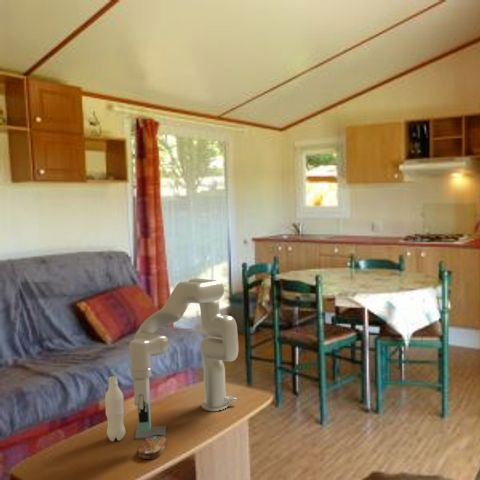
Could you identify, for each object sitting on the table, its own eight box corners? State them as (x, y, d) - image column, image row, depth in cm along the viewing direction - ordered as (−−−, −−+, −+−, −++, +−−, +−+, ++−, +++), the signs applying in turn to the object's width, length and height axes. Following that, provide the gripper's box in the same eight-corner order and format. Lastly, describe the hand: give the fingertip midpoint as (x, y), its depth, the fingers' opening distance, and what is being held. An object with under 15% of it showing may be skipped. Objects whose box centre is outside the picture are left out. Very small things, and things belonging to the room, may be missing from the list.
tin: (149, 433, 208) (169, 433, 206) (150, 441, 208) (170, 441, 206) (134, 452, 193) (156, 452, 191) (135, 460, 193) (157, 460, 191)
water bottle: (119, 432, 215) (116, 373, 213) (129, 438, 210) (125, 377, 208) (103, 438, 210) (100, 377, 208) (113, 444, 205) (109, 382, 203)
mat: (166, 427, 219) (166, 425, 219) (165, 437, 210) (165, 435, 210) (137, 429, 218) (137, 427, 218) (134, 439, 209) (134, 438, 209)
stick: (151, 425, 202) (148, 390, 200) (150, 430, 198) (147, 394, 196) (140, 426, 201) (137, 390, 200) (139, 431, 197) (136, 395, 196)
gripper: (133, 365, 205) (136, 410, 207) (128, 381, 188) (131, 430, 190) (153, 363, 206) (156, 408, 208) (149, 379, 189) (152, 428, 191)
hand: (144, 418), depth 199 cm, fingers closed on stick, 4 cm apart
